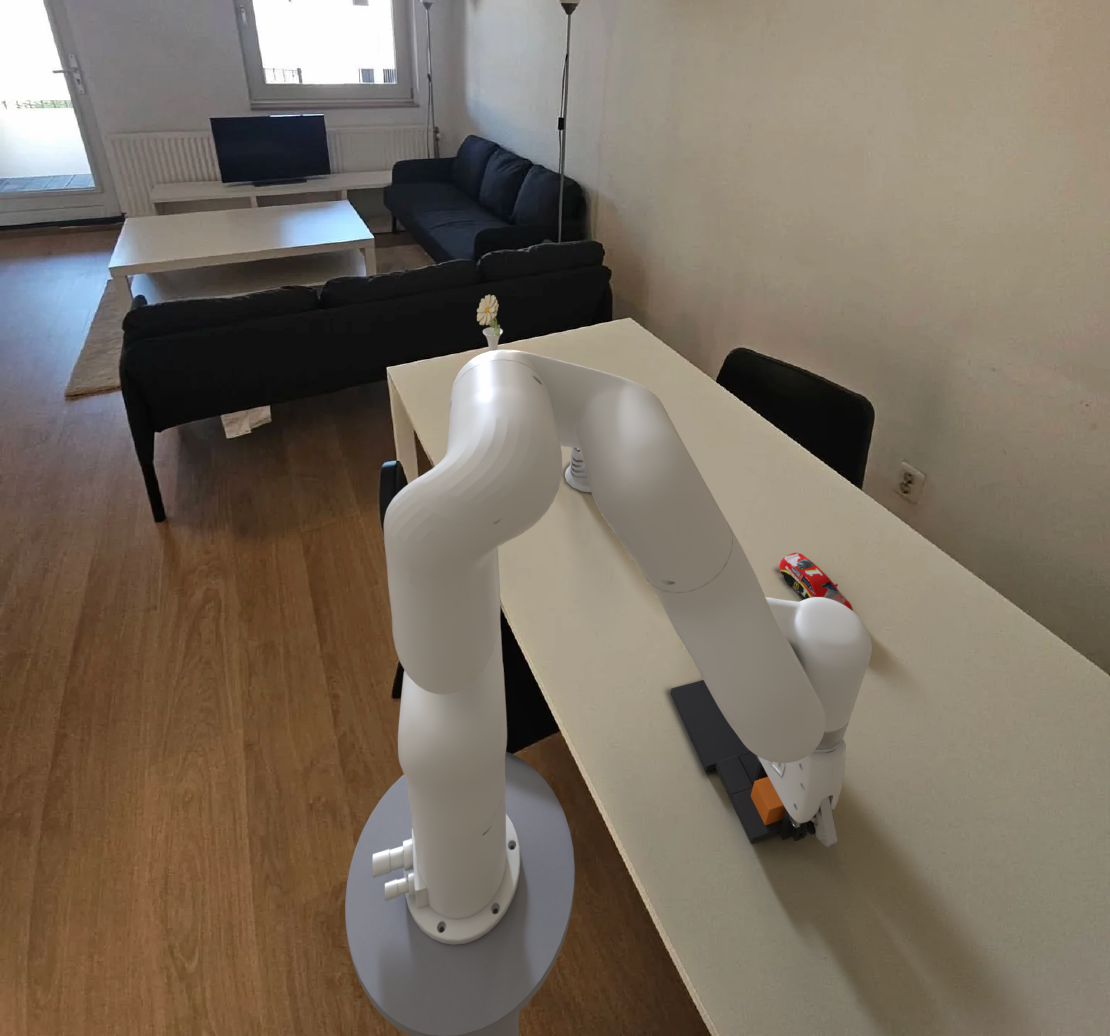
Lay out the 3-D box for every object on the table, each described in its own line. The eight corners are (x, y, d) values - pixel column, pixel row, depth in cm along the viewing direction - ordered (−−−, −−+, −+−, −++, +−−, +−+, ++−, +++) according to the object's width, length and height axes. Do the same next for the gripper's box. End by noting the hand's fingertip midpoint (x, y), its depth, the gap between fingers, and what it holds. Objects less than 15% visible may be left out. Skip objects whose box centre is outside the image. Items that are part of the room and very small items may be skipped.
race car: (858, 624, 94) (864, 605, 93) (831, 635, 92) (837, 616, 91) (798, 560, 105) (803, 543, 104) (773, 568, 104) (777, 551, 102)
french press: (573, 455, 130) (577, 353, 120) (625, 468, 127) (635, 364, 117) (558, 485, 121) (561, 377, 112) (614, 499, 118) (623, 390, 108)
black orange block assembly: (751, 845, 67) (757, 823, 65) (715, 767, 74) (719, 746, 73) (827, 817, 70) (834, 796, 68) (785, 745, 77) (791, 724, 75)
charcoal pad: (717, 800, 72) (718, 794, 71) (670, 694, 83) (671, 688, 83) (804, 771, 75) (806, 765, 74) (746, 673, 86) (748, 667, 86)
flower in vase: (470, 368, 163) (467, 282, 153) (512, 366, 165) (512, 281, 155) (473, 395, 151) (470, 303, 141) (518, 391, 153) (519, 301, 143)
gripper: (733, 641, 69) (713, 741, 77) (832, 808, 55) (795, 912, 62) (790, 626, 71) (765, 725, 79) (900, 784, 56) (857, 887, 64)
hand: (779, 806), depth 70 cm, fingers closed on black orange block assembly, 4 cm apart
